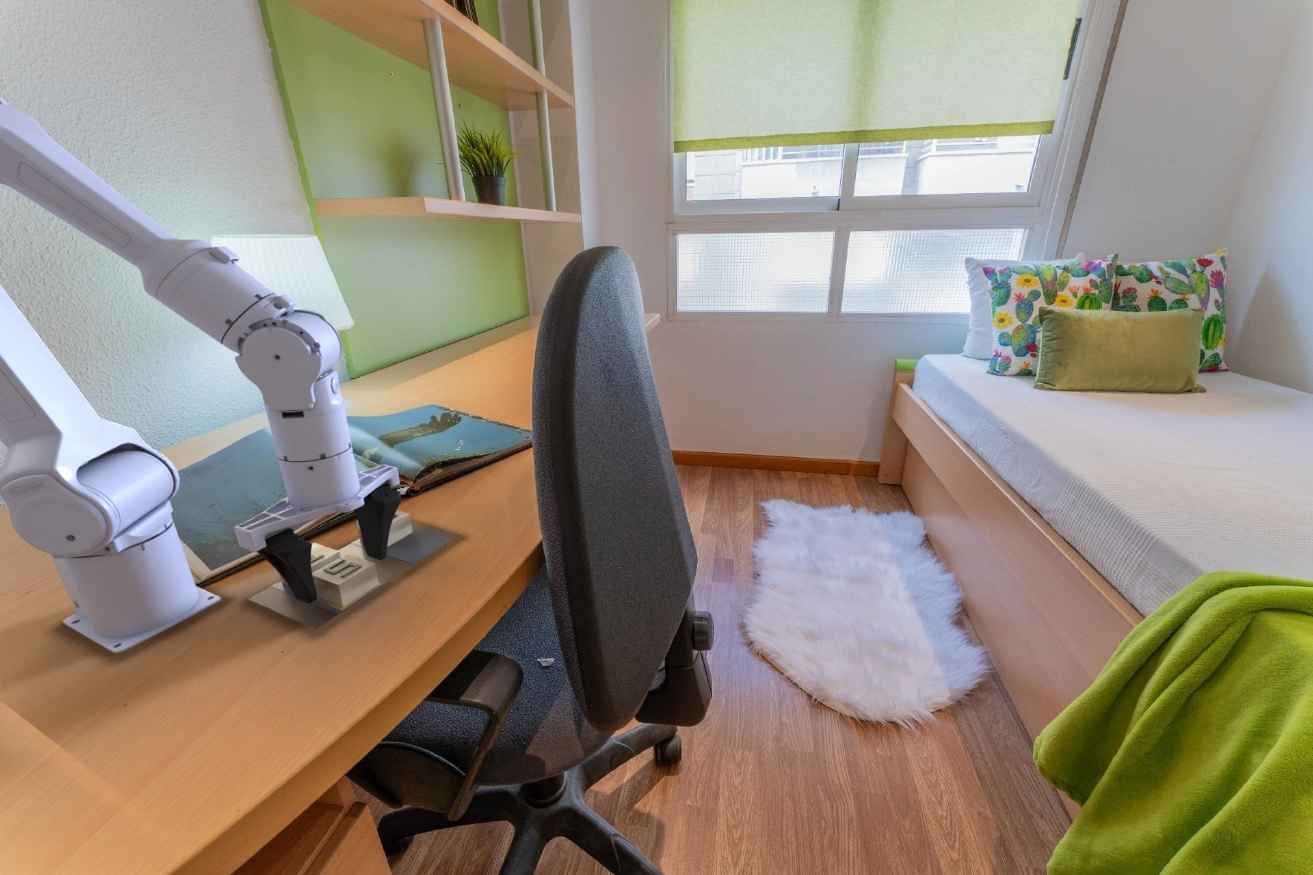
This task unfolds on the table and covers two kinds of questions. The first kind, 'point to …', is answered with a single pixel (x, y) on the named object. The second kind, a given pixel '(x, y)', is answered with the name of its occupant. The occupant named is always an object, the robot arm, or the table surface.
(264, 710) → the table surface
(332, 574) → the tile
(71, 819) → the table surface
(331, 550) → the tile
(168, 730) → the table surface
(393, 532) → the tile
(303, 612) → the letter board
